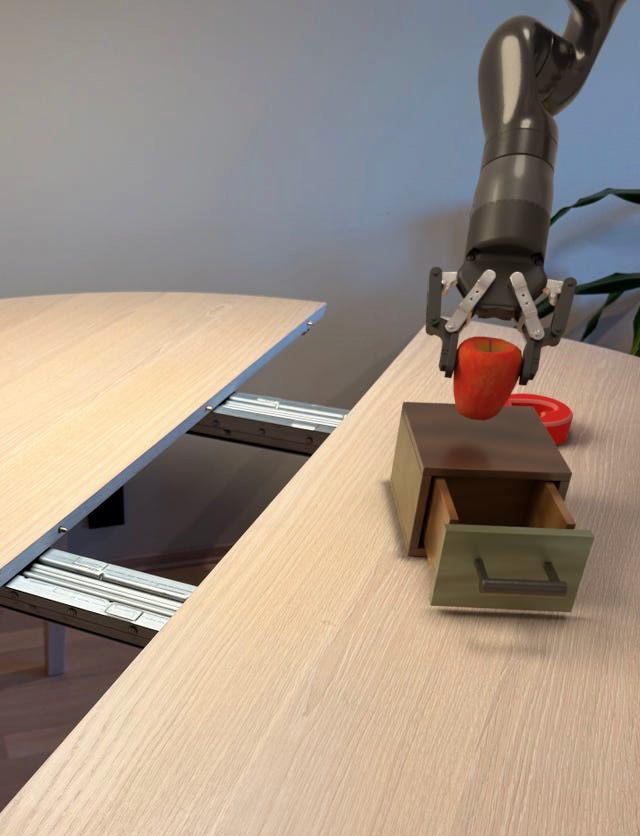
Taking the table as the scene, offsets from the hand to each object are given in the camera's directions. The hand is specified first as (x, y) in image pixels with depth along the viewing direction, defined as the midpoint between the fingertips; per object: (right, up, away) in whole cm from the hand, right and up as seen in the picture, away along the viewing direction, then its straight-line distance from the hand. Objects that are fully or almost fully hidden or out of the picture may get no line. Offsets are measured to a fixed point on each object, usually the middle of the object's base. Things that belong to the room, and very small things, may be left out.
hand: (486, 378), depth 94 cm
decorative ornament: (+15, +1, +29) cm, 33 cm away
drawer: (0, -19, -1) cm, 19 cm away
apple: (0, -3, +4) cm, 5 cm away
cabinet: (+1, -12, +10) cm, 16 cm away
